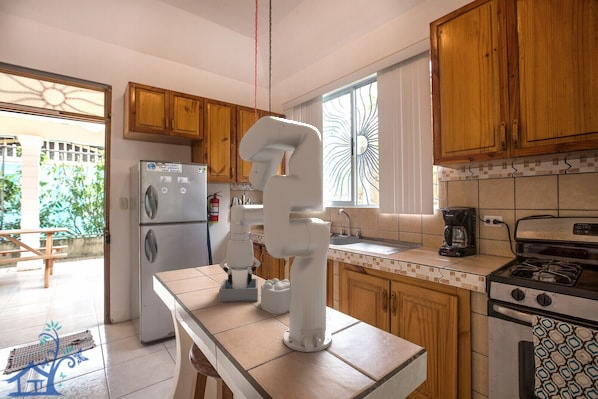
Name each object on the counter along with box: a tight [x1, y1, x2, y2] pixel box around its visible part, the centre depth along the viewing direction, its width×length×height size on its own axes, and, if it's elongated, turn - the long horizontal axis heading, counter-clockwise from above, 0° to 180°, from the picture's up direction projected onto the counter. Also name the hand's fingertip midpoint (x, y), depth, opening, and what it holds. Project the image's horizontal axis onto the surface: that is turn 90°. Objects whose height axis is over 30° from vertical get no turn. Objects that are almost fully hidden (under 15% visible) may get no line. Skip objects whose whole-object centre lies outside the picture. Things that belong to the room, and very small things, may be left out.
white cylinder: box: [231, 267, 249, 289], centre depth 104 cm, size 7×7×7 cm
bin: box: [218, 277, 259, 304], centre depth 104 cm, size 14×14×5 cm
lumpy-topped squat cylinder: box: [260, 277, 290, 315], centre depth 94 cm, size 10×13×9 cm
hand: (239, 283), depth 104 cm, fingers closed on white cylinder, 6 cm apart
